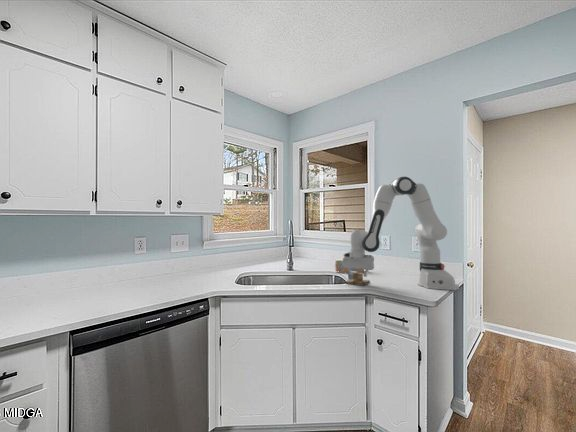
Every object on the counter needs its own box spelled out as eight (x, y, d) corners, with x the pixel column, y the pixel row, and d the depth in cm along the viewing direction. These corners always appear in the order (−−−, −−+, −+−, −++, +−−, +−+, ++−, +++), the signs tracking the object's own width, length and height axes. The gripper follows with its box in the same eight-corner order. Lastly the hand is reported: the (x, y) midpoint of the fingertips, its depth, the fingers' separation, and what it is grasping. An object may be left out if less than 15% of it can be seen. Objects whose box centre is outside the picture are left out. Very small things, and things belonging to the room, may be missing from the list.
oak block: (362, 280, 192) (362, 272, 192) (360, 282, 188) (360, 274, 188) (355, 279, 195) (355, 272, 195) (352, 281, 190) (352, 273, 191)
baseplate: (369, 282, 193) (369, 280, 193) (364, 285, 184) (364, 283, 184) (351, 280, 199) (351, 278, 199) (345, 283, 190) (345, 281, 190)
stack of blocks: (336, 272, 229) (336, 256, 229) (335, 271, 235) (335, 255, 235) (364, 272, 228) (364, 256, 228) (362, 271, 234) (362, 255, 235)
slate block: (357, 278, 205) (357, 271, 205) (355, 280, 201) (355, 272, 201) (350, 277, 208) (350, 270, 208) (348, 279, 203) (348, 271, 204)
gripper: (375, 254, 189) (375, 276, 189) (344, 253, 199) (344, 273, 199) (372, 255, 183) (372, 278, 183) (341, 254, 194) (341, 275, 194)
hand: (358, 275), depth 191 cm, fingers open, 8 cm apart
